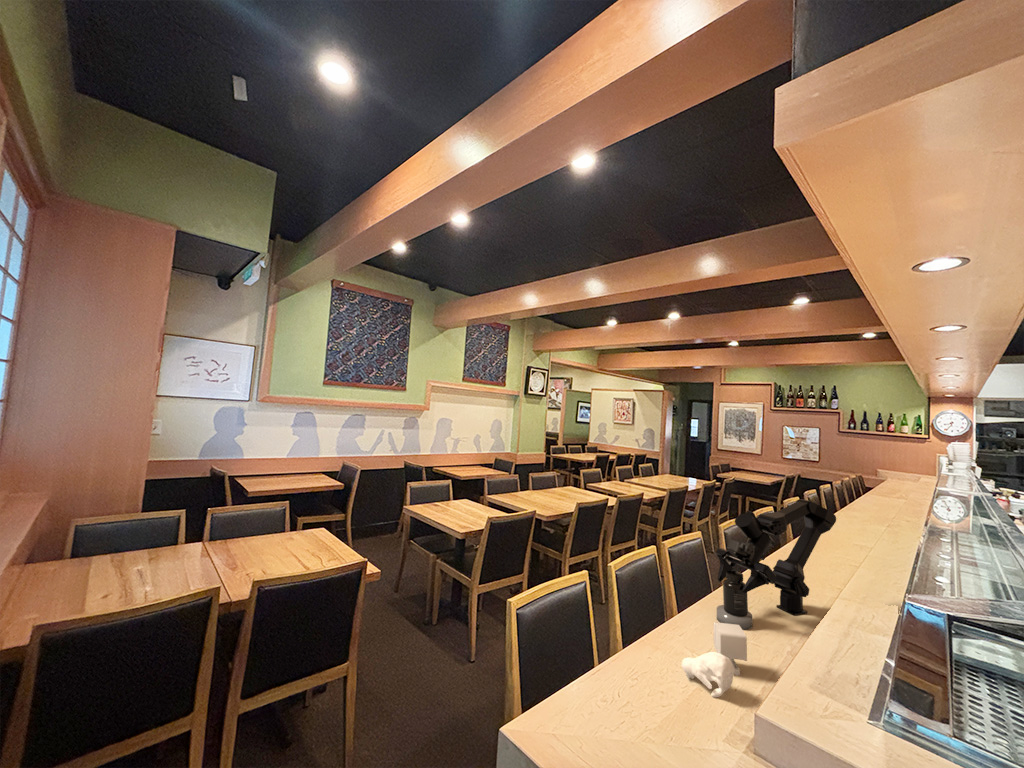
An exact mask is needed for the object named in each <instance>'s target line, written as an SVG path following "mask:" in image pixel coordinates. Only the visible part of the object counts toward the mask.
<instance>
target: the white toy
mask: <svg viewBox="0 0 1024 768" xmlns="http://www.w3.org/2000/svg"><path fill="white" fill-rule="evenodd" d="M681 669H682V670H683V671H684V673H685V675H686V677H687V680H693V679H695V677H696V678H697V680H698V679H699V681H700V682H701V683H703V685H704V686H705V687H707V689H709V690H712V689H713V685H712V683H711V682H713V681H714V682H715V683H717V685H718V686H717V687H718V688H717V687H716V688H715V689H713V691H712V692H711V694H710V697H712V698H714V699H716V698H719V697H721V696H722V695H723V694H725V692H727V691H728V690H729V689H730V688H731V686H732V684H733V681H734V680H733V679H734V675H733V674H734V671H735V670H734V667H733V664H732V662H731V660H730V659H729V658H727V657H726V656H724V655H722V654H720V653H717V651H709V652H707V653H706V652H705V653H703V654H700V655H698V656H697V657H694V658H693V657H689V656H688V657H685V658H683V659H682V662H681Z"/></svg>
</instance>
